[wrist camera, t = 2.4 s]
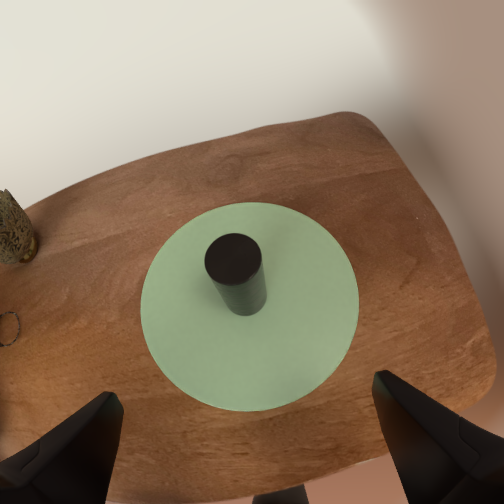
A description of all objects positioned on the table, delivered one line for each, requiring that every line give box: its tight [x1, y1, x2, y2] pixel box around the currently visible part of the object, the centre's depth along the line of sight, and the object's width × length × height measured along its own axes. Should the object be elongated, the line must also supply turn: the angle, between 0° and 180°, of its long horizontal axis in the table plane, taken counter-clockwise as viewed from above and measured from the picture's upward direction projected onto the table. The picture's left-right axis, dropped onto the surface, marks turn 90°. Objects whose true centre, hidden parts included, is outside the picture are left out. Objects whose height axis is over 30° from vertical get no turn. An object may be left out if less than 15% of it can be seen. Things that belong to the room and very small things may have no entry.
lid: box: [141, 202, 359, 412], centre depth 15 cm, size 13×13×6 cm
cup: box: [0, 189, 37, 264], centre depth 24 cm, size 8×7×8 cm
